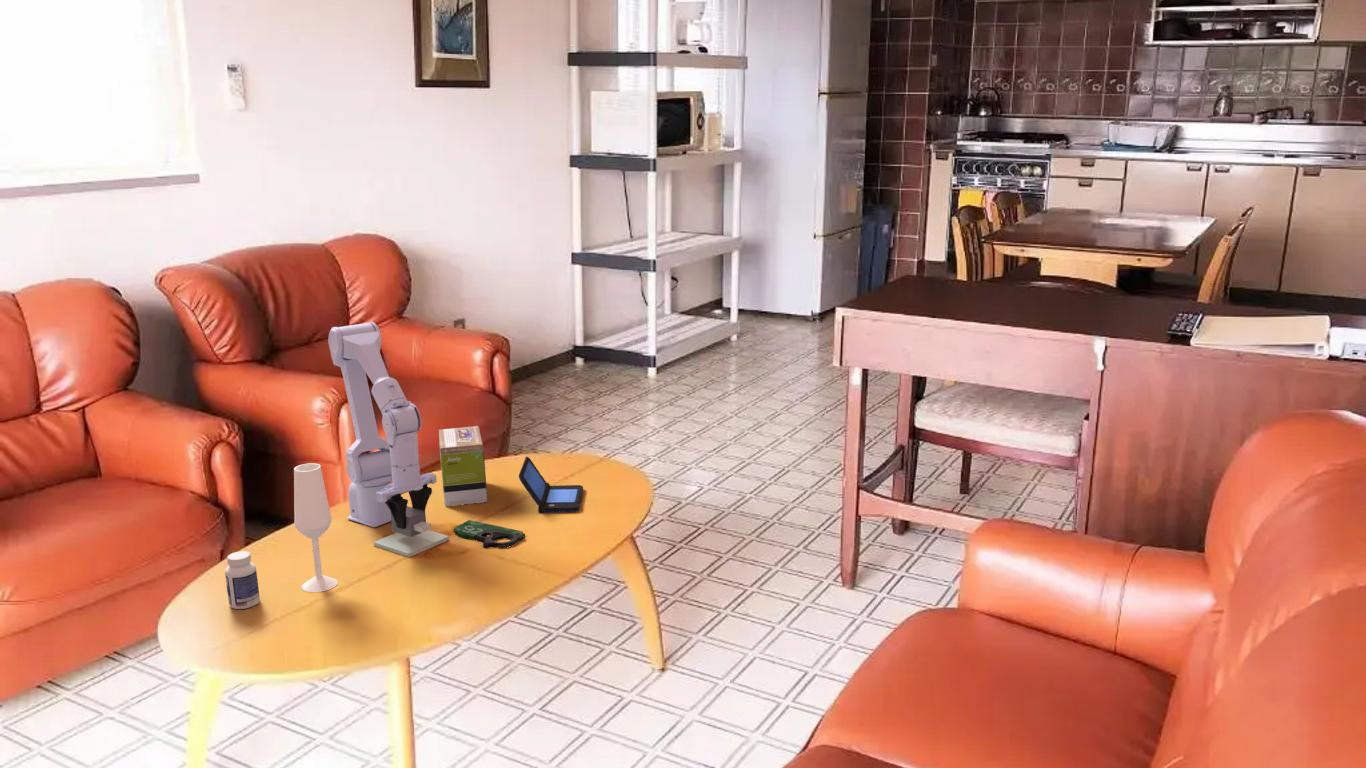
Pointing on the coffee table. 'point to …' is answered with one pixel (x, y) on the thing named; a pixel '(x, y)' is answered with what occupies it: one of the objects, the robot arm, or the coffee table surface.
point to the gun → (488, 534)
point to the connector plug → (412, 523)
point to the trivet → (411, 542)
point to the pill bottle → (241, 581)
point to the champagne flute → (312, 518)
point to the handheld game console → (549, 491)
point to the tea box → (462, 466)
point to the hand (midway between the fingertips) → (410, 524)
